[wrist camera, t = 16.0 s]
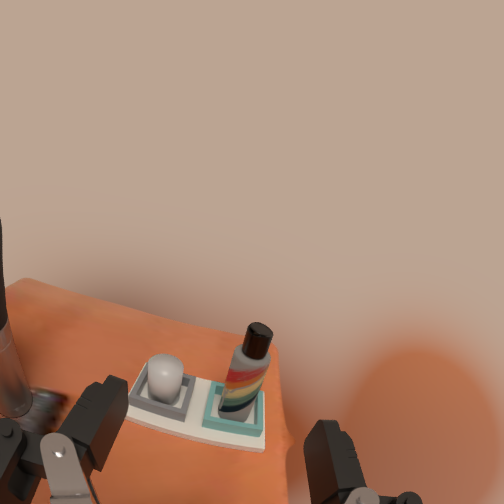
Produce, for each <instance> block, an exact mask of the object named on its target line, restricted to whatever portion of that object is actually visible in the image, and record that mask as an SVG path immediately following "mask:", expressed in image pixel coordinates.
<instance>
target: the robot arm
mask: <svg viewBox="0 0 504 504" xmlns="http://www.w3.org/2000/svg"><path fill="white" fill-rule="evenodd" d="M31 405H32V394H31V391H30V389H29V386H28V384H27V381H26V378H25V375H24V372H23V369H22V366H21V363H20V360H19V357H18V354H17V350H16V347H15V343H14V339H13V336H12V332H11V328H10V323H9V319H8V314H7V309H6V298H5V286H4V277H3V262H2V226H1V219H0V413H1V414H2V415H4V416H7V417H20V416H22V415H24V414H25V413H26V412H28V410H29V409H30V407H31ZM128 407H129V399H128V384H127V381H126V380H123V379H120V378H118V377H115V376H113V375H109V376H108V377H107V378H106V380H105V381H104V383H103V384H101V383H98V382H94V383H93V384H91V385H89V386H88V387H86V389H85V390H84V392H83V393H82V395H81V397H80V398H79V399H78V401H77V402H76V405H74V407H73V408H72V410H71V411H70V413H69V414H68V416H67V417H66V419H65V420H64V422H63V424H62V425H61V427H60V428H59V430H58V431H56V432H55V433H50V434H47V435H38V434H35V433H31V432H28V431H25V430H22V429H21V428H20V426H19V424H18V423H17V422H15V421H14V420H12V419H10V418H1V419H0V504H31V502H32V499H33V497H34V494H35V492H36V489H37V487H38V484H39V482H40V480H41V478H44V479H47V480H48V483H49V487H50V490H51V497H50V503H51V504H101V502H100V500H99V498H98V495H97V493H96V490H95V488H94V485H93V483H92V480H91V478H90V475H91V473H92V471H93V469H95V470H98V471H100V472H101V471H102V468H103V466H104V464H105V461H106V459H107V457H108V455H109V452H110V450H111V448H112V445H113V443H114V441H115V439H116V437H117V434H118V432H119V430H120V428H121V426H122V423H123V421H124V419H125V417H126V415H127V412H128ZM304 456H305V463H306V470H307V477H308V483H309V489H310V497H311V504H423V503H422V500H421V498H420V497H419V496H418V495H417V494H416V493H414V492H404V493H402V494H401V495H399V496H398V497H388V496H379V495H378V494H377V493H376V492H375V491H374V490H372V489H370V488H367V486H366V483H365V480H364V477H363V473H362V470H361V467H360V463H359V460H358V459H357V454H356V451H355V447H354V444H353V441H352V439H351V438H350V437H349V435H348V434H347V433H346V432H345V431H340V427H339V424H338V422H337V421H336V420H318V421H317V423H316V424H315V426H314V427H313V429H312V430H311V432H310V433H309V434H308V436H307V437H306V439H305V442H304Z"/></svg>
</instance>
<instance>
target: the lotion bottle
mask: <svg viewBox="0 0 504 504" xmlns="http://www.w3.org/2000/svg"><path fill="white" fill-rule="evenodd" d="M272 337H273V332H272V331H271V329H270V328H268V327H267V326H266V325H264V324H262V323H259V322H254V323H251V324H250V325H249V326H248V328H247V332H246V335H245V338H244V342H243V344H241V345H239V346H237V347H236V348H235V351H234V354H233V357H232V360H231V364H230V368H229V371H228V375H227V378H226V382H225V385H224V389H223V392H222V396H221V399H220V403H219V407H218V415H219V417H220V418H222V419H227V420H232V421H237V422H243V423H244V422H245V421H246V420H247V418H248V416H249V414H250V412H251V410H252V407H253V405H254V402H255V400H256V397H257V395H258V392H259V390H260V387H261V385H262V382H263V380H264V377H265V375H266V372H267V369H268V367H269V364H270V361H271V356H270V354H269V353H268V349H269V346H270V343H271V340H272Z"/></svg>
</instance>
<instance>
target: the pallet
mask: <svg viewBox="0 0 504 504" xmlns="http://www.w3.org/2000/svg"><path fill="white" fill-rule="evenodd" d="M183 369H184V366H183V363H182V362H181V361H180V360H179V359H178V358H177V357H175V356H172V355H169V354H157V355H154V356H152V357H151V358H150V359H149V361H148V362H146V363H145V365H144V367H143V369H142V371H141V372H140V374H139V376H138V378H137V380H136V382H135V383H134V385H133V387H132V389H131V391H130V393H129V394H128V399H129V407H128V412H127V415H126V417H125V419H126V420H128V421H131V422H134V423H136V424H139V425H142V426H145V427H148V428H151V429H154V430H157V431H160V432H163V433H167V434H170V435H174V436H177V437H181V438H185V439H189V440H193V441H197V442H201V443H206V444H210V445H215V446H220V447H225V448H231V449H237V450H244V451H251V452H259V453H263V451H264V450H265V405H264V392H263V391H260V390H259V392H258V395H257V397H256V400H255V402H254V405H253V407H252V410H251V412H250V414H249V416H248V418H247V420H246V421H245V422H244V423H243V422H237V421H232V420H227V419H222V418H220V417H219V415H218V407H219V403H220V399H221V396H222V392H223V389H224V385H225V384H224V383H220V382H215V381H210V380H205V379H201V378H198V377H195V376H191V375H188V374H184V373H183Z"/></svg>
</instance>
